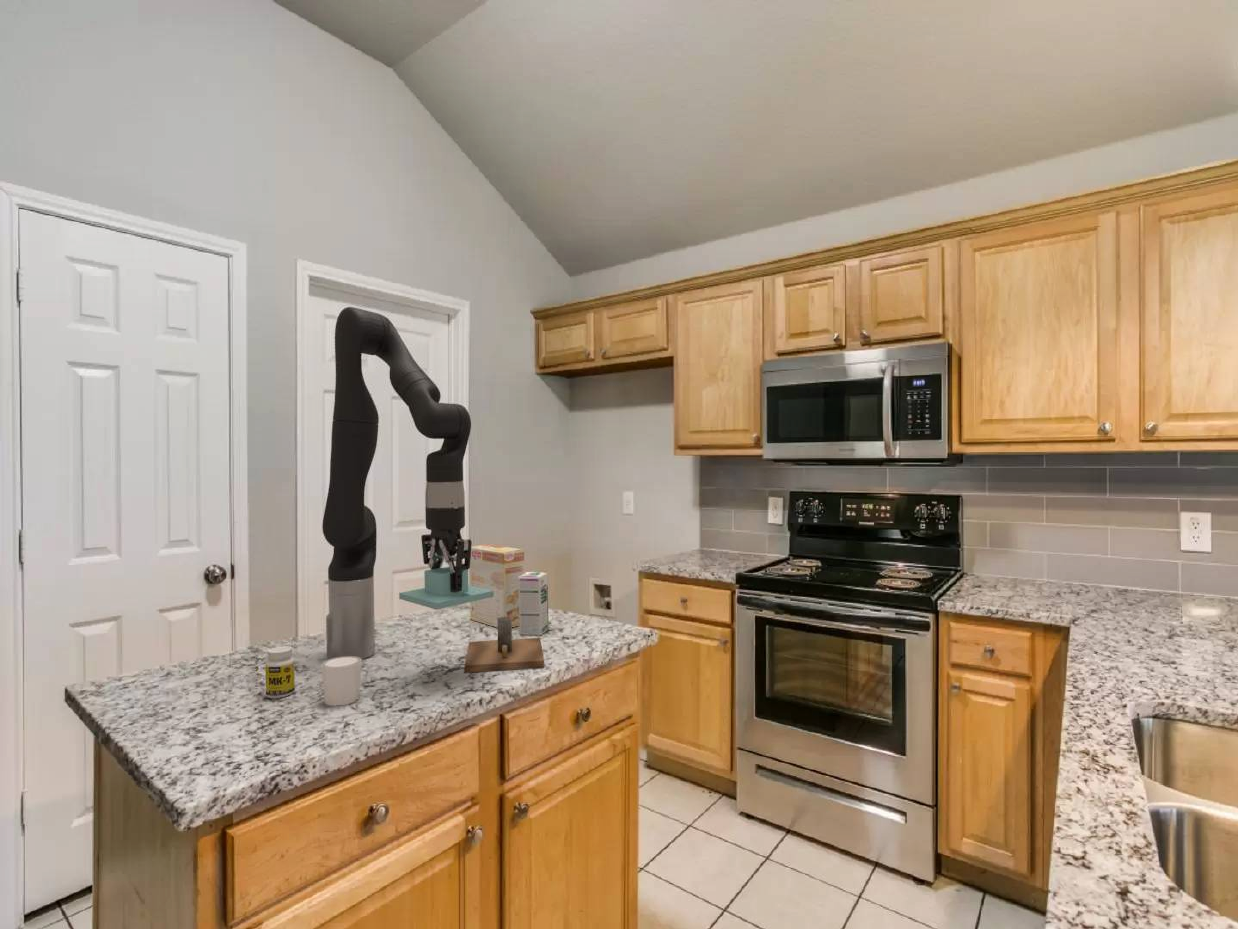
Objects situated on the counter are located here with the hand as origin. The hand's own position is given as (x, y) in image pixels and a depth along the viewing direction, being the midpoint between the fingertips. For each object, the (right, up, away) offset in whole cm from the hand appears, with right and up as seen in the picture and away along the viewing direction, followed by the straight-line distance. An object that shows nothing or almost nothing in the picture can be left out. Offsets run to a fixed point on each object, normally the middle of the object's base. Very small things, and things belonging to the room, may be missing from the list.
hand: (446, 588), depth 127 cm
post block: (+9, -17, +12) cm, 23 cm away
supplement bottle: (-29, -18, -8) cm, 35 cm away
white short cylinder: (-16, -18, -11) cm, 27 cm away
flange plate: (0, -2, 0) cm, 2 cm away
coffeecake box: (+2, -17, +40) cm, 44 cm away
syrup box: (+13, -17, +31) cm, 38 cm away
